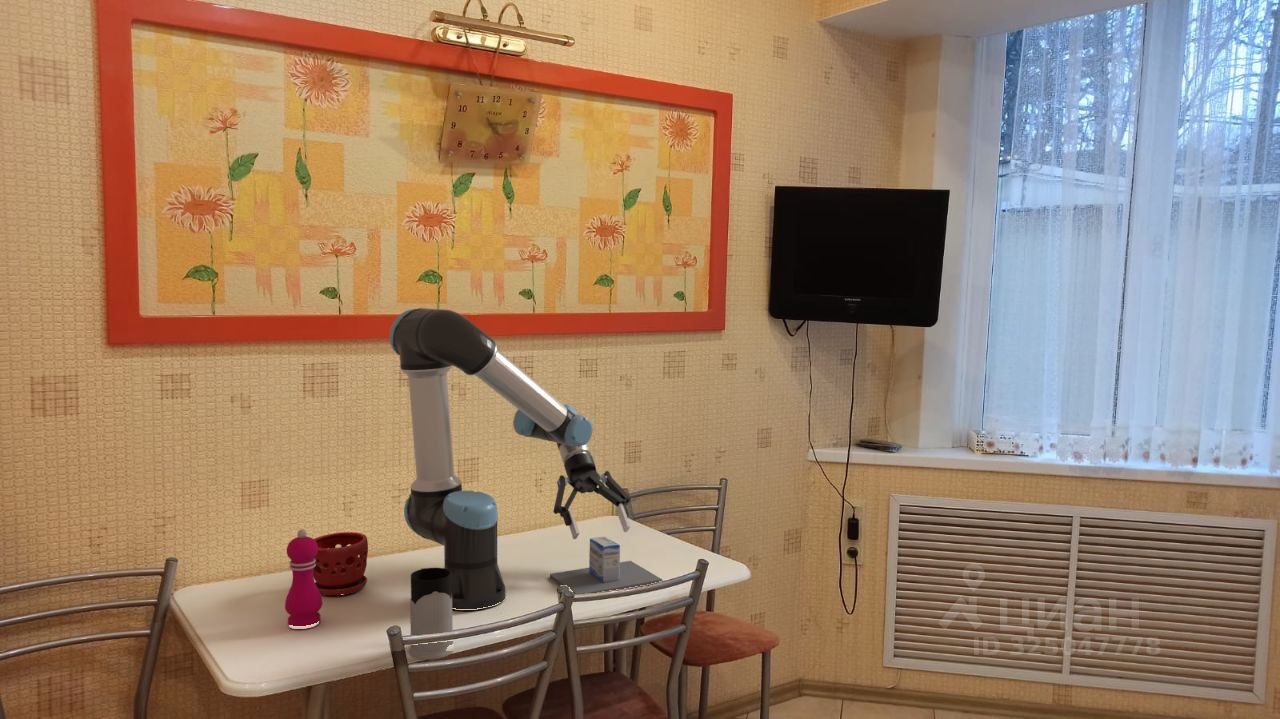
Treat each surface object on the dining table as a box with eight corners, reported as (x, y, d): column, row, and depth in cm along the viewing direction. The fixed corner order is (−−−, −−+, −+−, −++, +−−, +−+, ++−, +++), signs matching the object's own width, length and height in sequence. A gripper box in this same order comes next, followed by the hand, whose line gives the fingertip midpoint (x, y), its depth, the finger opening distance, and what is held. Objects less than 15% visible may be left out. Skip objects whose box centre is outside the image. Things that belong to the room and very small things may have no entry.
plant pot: (338, 577, 210) (337, 528, 209) (380, 586, 205) (379, 535, 204) (295, 594, 199) (294, 542, 198) (338, 604, 193) (337, 550, 192)
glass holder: (412, 662, 163) (411, 584, 162) (400, 634, 176) (399, 561, 175) (459, 654, 167) (458, 577, 166) (444, 628, 180) (443, 556, 178)
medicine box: (588, 573, 211) (588, 538, 210) (605, 570, 213) (605, 535, 213) (603, 583, 204) (603, 546, 203) (620, 580, 206) (620, 544, 206)
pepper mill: (286, 633, 176) (283, 536, 175) (284, 620, 183) (282, 527, 181) (324, 628, 179) (321, 532, 177) (321, 615, 186) (319, 523, 184)
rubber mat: (577, 599, 197) (577, 594, 196) (549, 578, 211) (549, 574, 210) (662, 583, 207) (662, 579, 207) (630, 564, 221) (630, 560, 221)
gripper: (616, 463, 232) (642, 534, 220) (527, 472, 220) (549, 547, 209) (626, 447, 227) (653, 518, 215) (535, 455, 215) (558, 531, 203)
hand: (602, 533), depth 212 cm, fingers open, 13 cm apart
